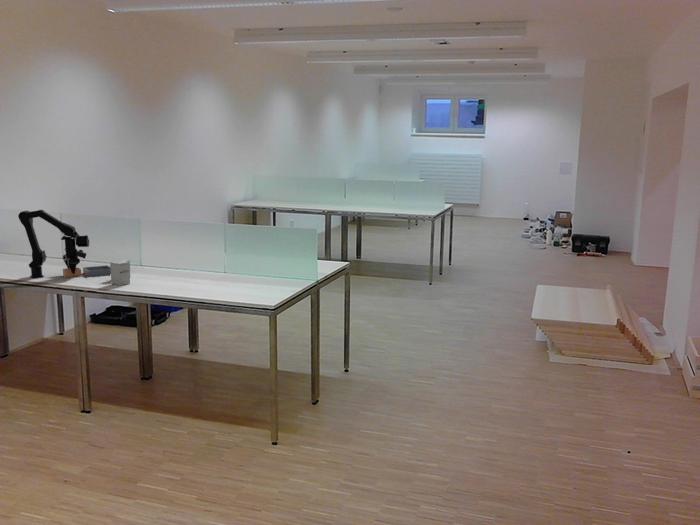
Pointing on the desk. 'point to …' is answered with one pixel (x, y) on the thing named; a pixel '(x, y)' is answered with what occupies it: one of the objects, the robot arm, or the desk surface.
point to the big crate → (97, 271)
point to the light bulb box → (122, 260)
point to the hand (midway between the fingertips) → (72, 272)
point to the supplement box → (120, 273)
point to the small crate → (68, 272)
